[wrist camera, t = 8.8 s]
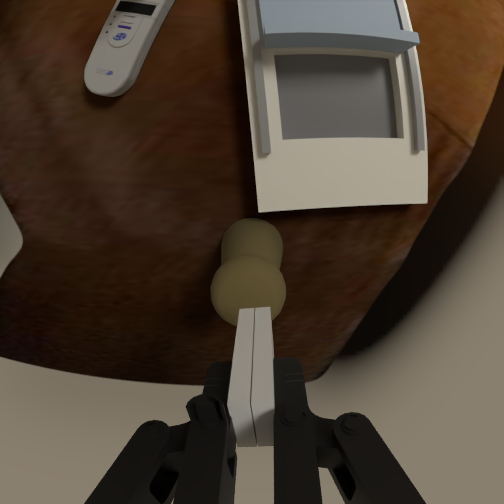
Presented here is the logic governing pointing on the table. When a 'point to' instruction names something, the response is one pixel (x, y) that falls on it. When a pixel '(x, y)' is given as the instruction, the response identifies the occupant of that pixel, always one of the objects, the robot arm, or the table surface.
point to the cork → (249, 270)
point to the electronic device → (124, 45)
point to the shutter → (334, 25)
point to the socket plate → (334, 122)
